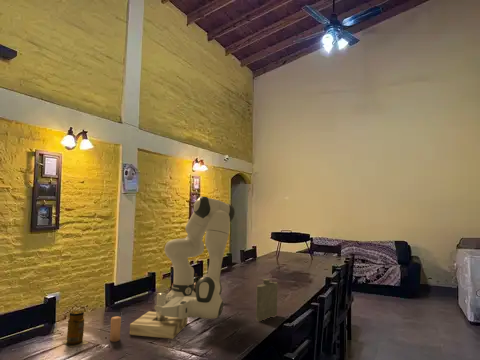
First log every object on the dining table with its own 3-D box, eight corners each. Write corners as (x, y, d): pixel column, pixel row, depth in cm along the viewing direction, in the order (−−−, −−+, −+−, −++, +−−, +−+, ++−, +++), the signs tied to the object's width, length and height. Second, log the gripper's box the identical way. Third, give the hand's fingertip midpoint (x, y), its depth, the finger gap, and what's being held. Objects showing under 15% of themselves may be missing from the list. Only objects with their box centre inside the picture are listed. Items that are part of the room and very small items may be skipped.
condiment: (79, 337, 150) (81, 308, 151) (88, 343, 144) (90, 313, 145) (61, 342, 145) (63, 312, 146) (70, 348, 139) (72, 316, 140)
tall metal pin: (154, 328, 164) (155, 293, 165) (162, 327, 166) (163, 292, 168) (157, 331, 161) (159, 295, 162) (165, 329, 163) (167, 294, 164)
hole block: (148, 320, 175) (148, 311, 175) (187, 323, 172) (187, 314, 172) (129, 334, 155) (130, 324, 156) (173, 338, 152) (173, 327, 152)
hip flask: (259, 322, 177) (260, 281, 179) (253, 320, 180) (254, 280, 181) (278, 316, 189) (278, 278, 190) (272, 314, 192) (272, 276, 193)
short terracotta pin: (108, 339, 149) (109, 317, 150) (118, 337, 151) (119, 315, 152) (111, 342, 146) (112, 319, 147) (121, 340, 148) (122, 318, 149)
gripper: (194, 294, 173) (167, 292, 175) (181, 305, 153) (150, 303, 155) (194, 307, 172) (166, 305, 174) (180, 320, 152) (150, 318, 154)
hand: (159, 304), depth 165 cm, fingers open, 8 cm apart
